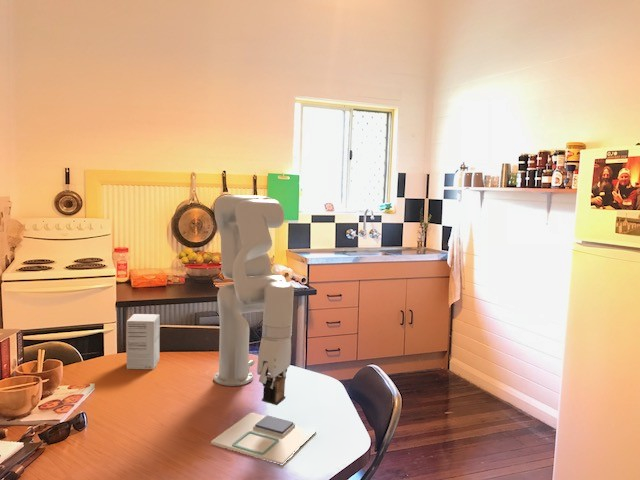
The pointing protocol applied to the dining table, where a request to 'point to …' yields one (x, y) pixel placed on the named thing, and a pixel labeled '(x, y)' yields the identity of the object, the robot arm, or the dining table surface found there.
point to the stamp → (278, 389)
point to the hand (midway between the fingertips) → (273, 396)
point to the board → (262, 437)
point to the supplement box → (143, 341)
